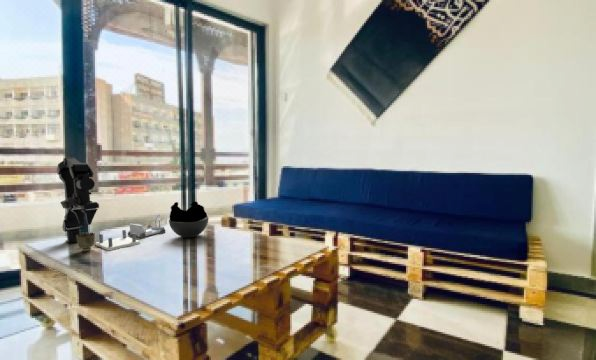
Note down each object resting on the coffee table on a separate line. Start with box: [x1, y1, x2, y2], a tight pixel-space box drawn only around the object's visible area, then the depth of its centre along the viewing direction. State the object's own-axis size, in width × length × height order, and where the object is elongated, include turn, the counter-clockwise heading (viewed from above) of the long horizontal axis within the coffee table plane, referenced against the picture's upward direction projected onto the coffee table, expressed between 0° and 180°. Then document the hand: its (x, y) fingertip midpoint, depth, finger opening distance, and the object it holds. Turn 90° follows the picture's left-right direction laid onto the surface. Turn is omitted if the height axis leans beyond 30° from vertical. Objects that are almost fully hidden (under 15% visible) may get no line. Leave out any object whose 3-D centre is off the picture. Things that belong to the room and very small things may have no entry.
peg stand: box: [95, 229, 141, 251], centre depth 169 cm, size 15×15×5 cm
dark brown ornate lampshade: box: [76, 232, 96, 252], centre depth 158 cm, size 8×7×8 cm
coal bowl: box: [168, 201, 209, 239], centre depth 181 cm, size 20×20×19 cm
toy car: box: [127, 214, 166, 239], centre depth 190 cm, size 18×10×12 cm
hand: (85, 224), depth 157 cm, fingers open, 9 cm apart
